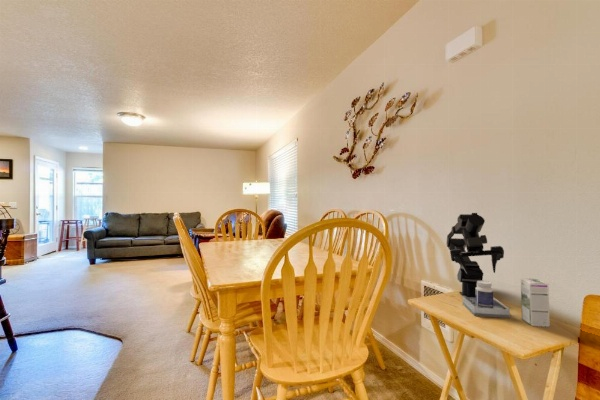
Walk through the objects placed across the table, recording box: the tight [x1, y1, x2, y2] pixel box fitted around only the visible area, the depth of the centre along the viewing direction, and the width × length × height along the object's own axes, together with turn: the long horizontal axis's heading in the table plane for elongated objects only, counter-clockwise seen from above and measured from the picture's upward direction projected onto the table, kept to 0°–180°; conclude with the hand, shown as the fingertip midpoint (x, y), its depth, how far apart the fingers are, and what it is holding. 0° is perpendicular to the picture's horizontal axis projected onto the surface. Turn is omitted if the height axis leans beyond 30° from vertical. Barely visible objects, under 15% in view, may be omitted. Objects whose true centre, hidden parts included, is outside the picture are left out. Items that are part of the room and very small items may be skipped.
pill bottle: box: [476, 280, 494, 308], centre depth 109 cm, size 6×6×10 cm
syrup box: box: [520, 278, 551, 328], centre depth 97 cm, size 6×6×14 cm
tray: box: [462, 296, 511, 319], centre depth 108 cm, size 12×11×4 cm
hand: (480, 273), depth 112 cm, fingers open, 9 cm apart
